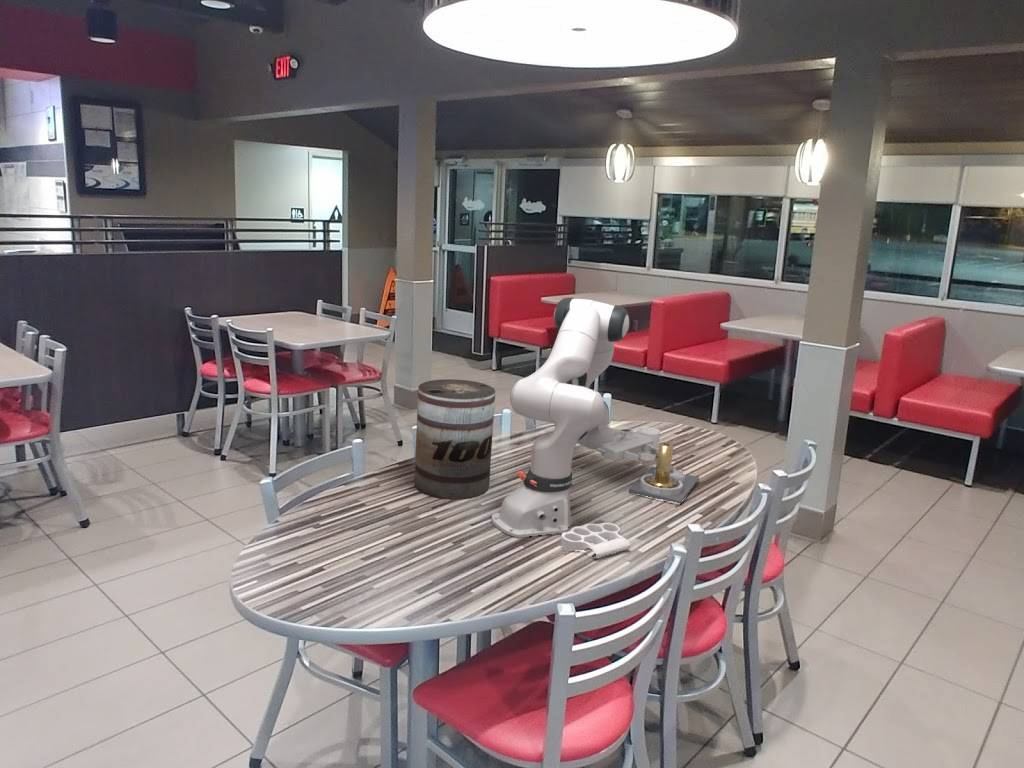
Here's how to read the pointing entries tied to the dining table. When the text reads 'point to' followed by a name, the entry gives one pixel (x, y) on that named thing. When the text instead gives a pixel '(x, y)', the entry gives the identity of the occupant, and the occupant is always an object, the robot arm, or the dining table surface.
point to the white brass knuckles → (595, 539)
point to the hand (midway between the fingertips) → (648, 455)
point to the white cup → (655, 436)
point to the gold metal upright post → (663, 467)
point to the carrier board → (670, 498)
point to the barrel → (454, 438)
